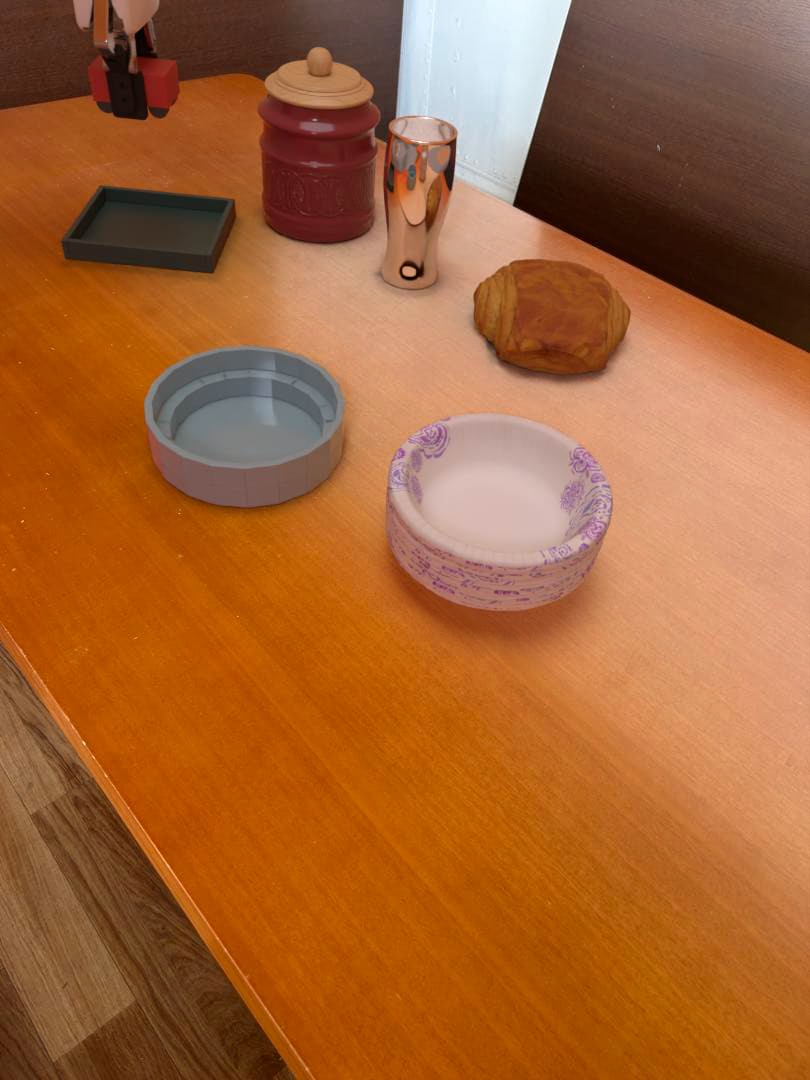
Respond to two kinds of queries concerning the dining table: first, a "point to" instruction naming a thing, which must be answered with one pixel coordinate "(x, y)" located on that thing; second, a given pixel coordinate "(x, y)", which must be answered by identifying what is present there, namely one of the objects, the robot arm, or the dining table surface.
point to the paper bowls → (496, 511)
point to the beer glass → (416, 197)
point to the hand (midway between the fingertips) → (138, 105)
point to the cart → (157, 84)
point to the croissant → (551, 316)
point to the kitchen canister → (318, 150)
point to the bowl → (245, 425)
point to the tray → (151, 229)
